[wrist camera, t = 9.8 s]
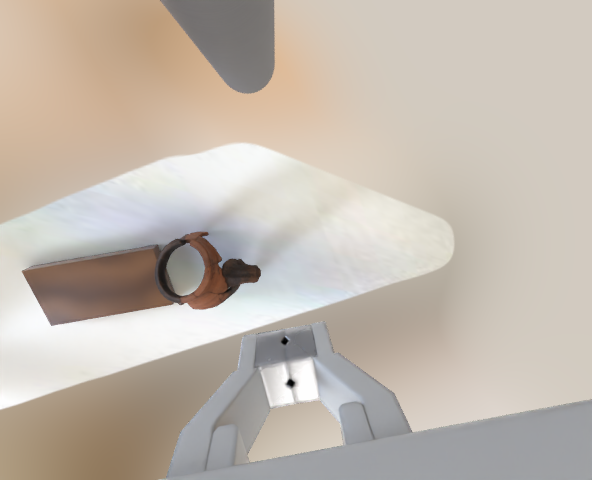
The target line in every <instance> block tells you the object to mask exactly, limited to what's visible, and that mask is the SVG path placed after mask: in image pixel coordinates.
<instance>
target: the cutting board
mask: <svg viewBox="0 0 592 480" xmlns="http://www.w3.org/2000/svg"><path fill="white" fill-rule="evenodd" d="M159 254H160V250H159V247H158V245H153V246H147V247H141V248H135V249H129V250H123V251H118V252H112V253H106V254H100V255H94V256H88V257H83V258H77V259H71V260H65V261H59V262H53V263H47V264H42V265H36V266H31V267H29V268H27V269H25V270H23V271H22V273H23V275H24V276H25V278H26V280H27V282H28V284H29V286H30V287H31V289H32V291H33V293H34V295H35V297H36V298H37V300H38V302H39V304H40V306H41V308H42V309H43V311H44V313H45V315H46V317H47V319H48V321H49V322H50V324H51V326H53V325H58V324H64V323H70V322H76V321H81V320H87V319H93V318H98V317H104V316H110V315H116V314H121V313H127V312H133V311H138V310H144V309H150V308H156V307H161V306H167V305H173V303H174V302H172V301H170V300H167V299H166V298H165V297H164V296H163V295H162V294H161V293H160V291H159V289H158V287H157V285H156V282H155V277H154V276H155V274H154V272H155V271H154V270H155V266H156V261H157V259H158V257H159ZM165 273H166V279H167V281H168V284H167V285H168V287H169V288H170V290H171V291H172V292H174V290H173V287H172V284H171V281H170V279H169V276H168V273H167V270H166V271H165Z"/></svg>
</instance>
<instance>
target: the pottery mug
mask: <svg viewBox="0 0 592 480" xmlns="http://www.w3.org/2000/svg"><path fill="white" fill-rule="evenodd" d="M207 235H208V232H195V233H190V234H187V235H185V236H183V237H182V238H180V239H175V240H174V241H172V242H170V243H169V244H168V245H166V246H165V247H164V248H163V250H162V251H161V253H160V254H159V257H158V259H157V261H156V266H155V270H154V271H155V272H154V274H155V276H154V277H155V282H156V285H157V287H158V289H159V291H160V293H161V294H162V295H163V296H164V297H165V298H166V299H167V300H170V301H172V302H175V303H178V304H179V305H183V304H184V303H187V302H188V304H189V305H190V307H192V308H193V309H208V308H213V307H215V306H218V305H219V304H221V303H222V302H224V301H225V300H226V299H227V298H229V297H230V296H231V295H232V294H233V293H235V292H236V290H237V289H238V288H239V286H240V284H243V283H255V282H257V281H258V279H259V277H260V276H261V270H260V269H259V268H258V266H256V265H248V264H245V263H244V262H243V261H242V260H241V259H238V260H236V259H229V260H228V261H226V262H225V263H224V264H223V266H222V269H221V268H220V267H219V265H218V263H219V262H220V261H222V258H221V256H220V255H219V254H218V252H217V251H216V249H215V248H214V247H213V246H212V245H211V244H210V243H209V242H208V241H207V240H206V239H204V238H203V237H202V236H207ZM186 243H190V246H192V247H194V248H195V249H196V250H198V251H199V253H200V254H201V256H202V258H203V261H204V265H205V273H204V277H203V280H202V282H201V284H200V286H199V287H198V288H197V289H196V290H195V291H194V292H193V293H191V294H189V295H186V296H179V295H177V294H175V293H174V292H172V291H171V290H170V288H169V287H168V285H167V284H168V281H167V279H166V273H165V271H166V265H167V261H168V259H169V257H170V255H171V254H172V252H173V251H174V250H175V249H177V248H178V247H180V246H183V245H185V244H186ZM228 287H230V288H229V289H228Z"/></svg>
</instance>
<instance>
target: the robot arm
mask: <svg viewBox="0 0 592 480" xmlns="http://www.w3.org/2000/svg"><path fill="white" fill-rule="evenodd" d="M316 400H321V402H322V403H323V404H324V406H325V407H326V408H327V409H328V410H329V411H330V413H331V414H332V415H333V416H334V417H335V418H336V420H337V421H338V422H339V423H340V425H341V433H342V440H343V446H337V447H332V448H327V449H321V450H316V451H310V452H306V453H300V454H295V455H289V456H284V457H278V458H273V459H267V460H262V461H257V462H252V463H250V461H249V458H248V453H249V451H250V449H251V447H252V445H253V443H254V441H255V439H256V437H257V435H258V434H259V431H260V429H261V428H262V426H263V424H264V422H265V420H266V418H267V416H268V414H269V412H270V409H273V408H277V407H282V406H287V405H291V404H295V403H303V402H310V401H316ZM160 480H592V399H590V400H585V401H580V402H574V403H569V404H564V405H558V406H553V407H547V408H542V409H537V410H531V411H526V412H520V413H515V414H510V415H505V416H499V417H494V418H488V419H483V420H477V421H472V422H467V423H461V424H456V425H450V426H445V427H439V428H434V429H429V430H424V431H418V432H412V430H411V428H410V426H409V424H408V421H407V419H406V417H405V415H404V413H403V411H402V409H401V407H400V404H399V402H398V400H397V398H396V396H395V394H394V393H393V392H392V391H390V390H389V389H388V388H386V387H385V386H383V385H382V384H381V383H379V382H378V381H377V380H375V379H374V378H372V377H371V376H370V375H368V374H367V373H366V372H364V371H363V370H362V369H360V368H359V367H358V366H356V365H355V364H353V363H352V362H351V361H349V360H348V359H347V358H345V357H344V356H342V355H341V354H340V353H334V351H333V347H332V343H331V339H330V336H329V332H328V329H327V325H326V322H325V321H323V322H318V323H314V324H311V325H305V326H300V327H295V328H289V329H282V330H276V331H269V332H263V333H258V334H251V335H245V336H244V337H243V338H242V344H241V351H240V357H239V363H238V370H237V371H234V372H233V373H232V374H231V375H230V376H229V377H228V378H227V379H226V380H225V382H224V383H223V384H222V385H221V386H220V387H219V389H218V390H217V391H216V392H215V393H214V394H213V395H212V397H211V398H210V399H209V400H208V401H207V402H206V403H205V405H204V406H203V407H202V408H201V409H200V410H199V411H198V413H197V414H196V415H195V416H194V417H193V418H192V420H191V421H190V422H189V423H188V424H187V425H186V426H185V428H184V429H183V430H182V431H181V432H180V435H179V439H178V442H177V445H176V448H175V451H174V454H173V457H172V460H171V464H170V467H169V470H168V473H167V476H166V478H165V479H160Z"/></svg>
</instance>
